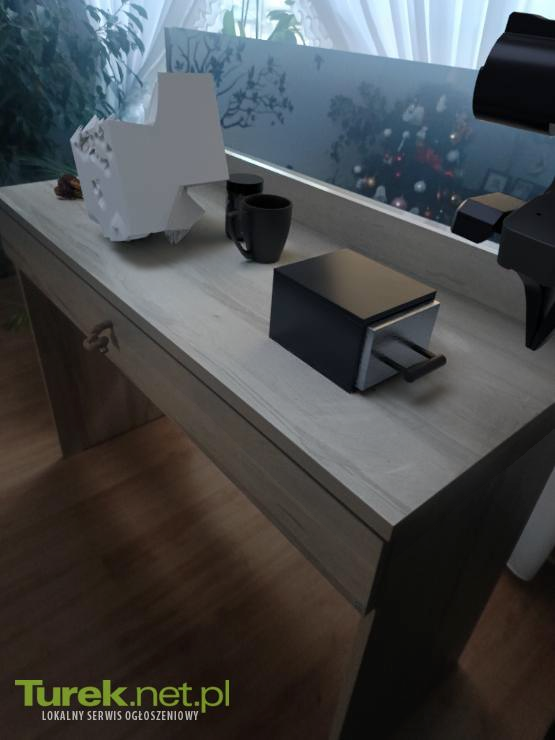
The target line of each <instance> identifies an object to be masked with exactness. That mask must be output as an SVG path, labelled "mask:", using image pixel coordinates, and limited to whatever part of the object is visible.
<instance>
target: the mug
mask: <svg viewBox="0 0 555 740" xmlns="http://www.w3.org/2000/svg"><path fill="white" fill-rule="evenodd" d="M293 204H294V203H293V202H292V200H291V199H289V198H287V197H284V196H282V195H276V194H271V193H270V194H269V193H263V194H254V195H249V196H246V197H244V198H243V199H242V208H241V210H240V211H232V212H229V213H227V214H226V217H225V216H224V225H225V224H226V227H227V230H228V232H229V234H230V236H231V238H232V239H233V240H232V239H231V240H232V241H233V243H234V245H235V247H236V248H237V250H238V251H239V253H240V254H241V255H242V257H243V258H244V259H246V260H250V261H252V262H255V263H258V264H273V263H277V262H278V261H280V259H281V258H282V257H281V256H282V254H283V250H284V249H285V246H286V244H287V240H288V237H289V234H290V229H291V224H292V218H293V217H292V215H293V206H294V205H293ZM239 214H241V222H242V231H243V237H244V242H243V243H244V246H245V248H244V247H243V246H242V244H241V242H239V241H238V239H237V237H236V235H235V233H234V230H233V227H232V219H233V217H234V216H235V215H239Z"/></svg>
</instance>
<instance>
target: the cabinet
mask: <svg viewBox="0 0 555 740" xmlns="http://www.w3.org/2000/svg"><path fill="white" fill-rule="evenodd" d="M272 274H273V275H272V284H271V285H272V288H271V302H270V312H269V313H270V315H269V328H268V329H269V330H268V337H269V338H270V339H271V340H272V341H274V342H275V343H277V344H278V345H280V346H281V347H283V349H285V350H286V351H288V352H290V353H291V354H292V355H294V356H295V357H297V358H298V359H299V360H301V361H302V362H303V363H305V364H307V365H308V366H310V367H311V368H312V369H314V371H316V372H318V373H319V374H321V375H322V376H323V377H325V378H327V379H328V380H329V381H331V382H332V383H334V385H337V386H338V387H340V388H341V389H342V390H344V391H345V392H346V393H348V394H352V393H354V392H356V391H357V390H360V389H359V388H357V387H356V386H355V381H356V376H357V371H358V366H359V361H360V356H361V351H362V346H363V341H364V336H365V331H366V326H367V324H369V323H371V322H374V321H376V320H379V319H381V318H384V317H386V316H389V315H391V314H394V313H396V312H398V311H401V310H403V309H406V308H408V307H411V306H413V305H416V304H417V305H419V304H421V303H424V302H426V301H429V300H431V299H434V300H436V296H437V293H438V290H437V289H435V288H433V287H431V286H428V285H426V284H424V283H422V282H420V281H418V280H415V279H413V278H411V277H410V276H407V275H405V274H403V273H400V272H398V271H397V270H394V269H392V268H390V267H388V266H386V265H383V264H381V263H379V262H377V261H375V260H373V259H371V258H369V257H367V256H364V255H363V254H360V253H358V252H356V251H353V250H352V249H349V248H343V249H339V250H335V251H332V252H327V253H324V254H321V255H317V256H313V257H309V258H306V259H302V260H299V261H296V262H295V261H294V262H291V263H288V264H284V265H281V266H277V267H273V271H272Z"/></svg>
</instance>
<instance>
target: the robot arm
mask: <svg viewBox="0 0 555 740" xmlns="http://www.w3.org/2000/svg"><path fill="white" fill-rule="evenodd" d="M471 102H472V104H471V109H472V115H473V117H474V118H475V120H478V121H481V122H486V123H489V124H494V125H500V126H503V127H508V128H513V129H517V130H522V131H527V132H529V133H530V132H531V133H535V134H540V135H544V136H549V137H555V19H551V18H548V17H545V16H543V15H540V14H537V13H530V12H522V11H512V12H511V13H510V14H509V15H508V17H507V22H506V24H505V28H504V31H503V32H502V33H501V34H500V36H499V37H498V38H497V39H496V41H495V42H494V43H493V46H492V47H491V49H490V51H489V52H488V55H487V57H486V60H485V62H484V63H483V65H482V66H480V68H479V70H478V72H477V75H476V79H475V83H474V87H473V93H472V101H471ZM449 230H450V233H451V234H454V235H456V236H458V237H461V238H463V239H465V240H467V241H469V242H472V243H475V245H479V244H483V243H484V242H486V241H489V240H490V239H492V238H494V236H495V233H496V234H498V235H500V239H499V244H498V250H497V257H496V263H497V265H499V266H500V267H501V268H503V269H505V270H507V271H511V270H512V271H514V272H515V273H516V274H517V276H518V277H519V279H520V280H521V282H522V284H523V288H524V289H523V290H524V295H525V296H524V297H525V339H524V342H525V343H524V344H525V345H524V346H525V348H527V349H528V350H530V351H532V352H536V351H538V350H540V349H541V348H542V347H543V346H545V344H546V343H547V342H549V341H550V340H551V339H552V338H553V337H554V336H555V175H554V177H553V179H552V181H551V183H550V184H549V185H548V187H547V188H546V189H545V191H544V192H543V193H542V194H539V195H536V196H534V197H533V198H531V199H530V200H528V201H524V200H522V199H519V198H517V197H513V196H511V195H507V194H505V193H502V192H500V191H499V192H498V191H497V192H493V193H488V194H483V195H478V196H473V197H468V198H466V199H465V200H463V201H462V202H461V204H460V205H459V206H458V207H457V208H456V210H455V211H454V215H453V218H452V222H451V225H450V228H449Z"/></svg>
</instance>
